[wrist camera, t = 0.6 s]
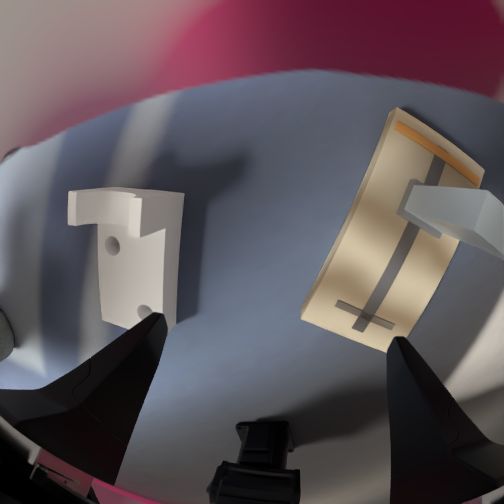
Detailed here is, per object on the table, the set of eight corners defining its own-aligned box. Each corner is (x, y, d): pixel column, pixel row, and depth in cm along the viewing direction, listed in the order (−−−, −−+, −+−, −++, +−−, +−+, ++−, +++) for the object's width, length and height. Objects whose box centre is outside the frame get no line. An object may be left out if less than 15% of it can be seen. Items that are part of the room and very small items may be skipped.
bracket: (121, 186, 24) (68, 191, 17) (185, 193, 24) (142, 198, 16) (120, 306, 28) (78, 338, 21) (177, 322, 27) (143, 364, 20)
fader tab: (433, 236, 19) (511, 274, 9) (395, 213, 19) (469, 240, 9) (446, 203, 18) (531, 222, 8) (410, 179, 18) (490, 180, 8)
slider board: (388, 344, 24) (394, 356, 22) (300, 308, 24) (300, 319, 22) (473, 170, 19) (485, 170, 16) (389, 112, 19) (397, 106, 17)
